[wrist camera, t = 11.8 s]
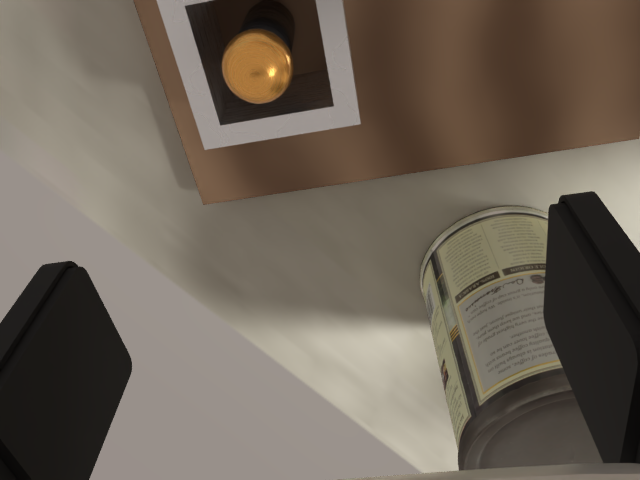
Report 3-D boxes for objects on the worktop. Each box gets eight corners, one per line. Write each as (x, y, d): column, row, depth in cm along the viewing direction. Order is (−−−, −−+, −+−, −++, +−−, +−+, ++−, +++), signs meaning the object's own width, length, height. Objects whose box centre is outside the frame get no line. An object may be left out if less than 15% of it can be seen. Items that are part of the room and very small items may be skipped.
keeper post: (293, -10, 26) (282, 34, 20) (304, 50, 28) (298, 108, 22) (234, 1, 27) (206, 47, 21) (248, 60, 28) (227, 120, 22)
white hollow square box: (332, -71, 25) (334, -54, 21) (355, 84, 29) (360, 124, 25) (178, -40, 26) (151, -17, 22) (221, 107, 30) (204, 149, 26)
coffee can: (602, 286, 38) (723, 480, 27) (462, 349, 42) (515, 545, 30) (542, 173, 33) (657, 349, 22) (389, 254, 37) (418, 443, 25)
